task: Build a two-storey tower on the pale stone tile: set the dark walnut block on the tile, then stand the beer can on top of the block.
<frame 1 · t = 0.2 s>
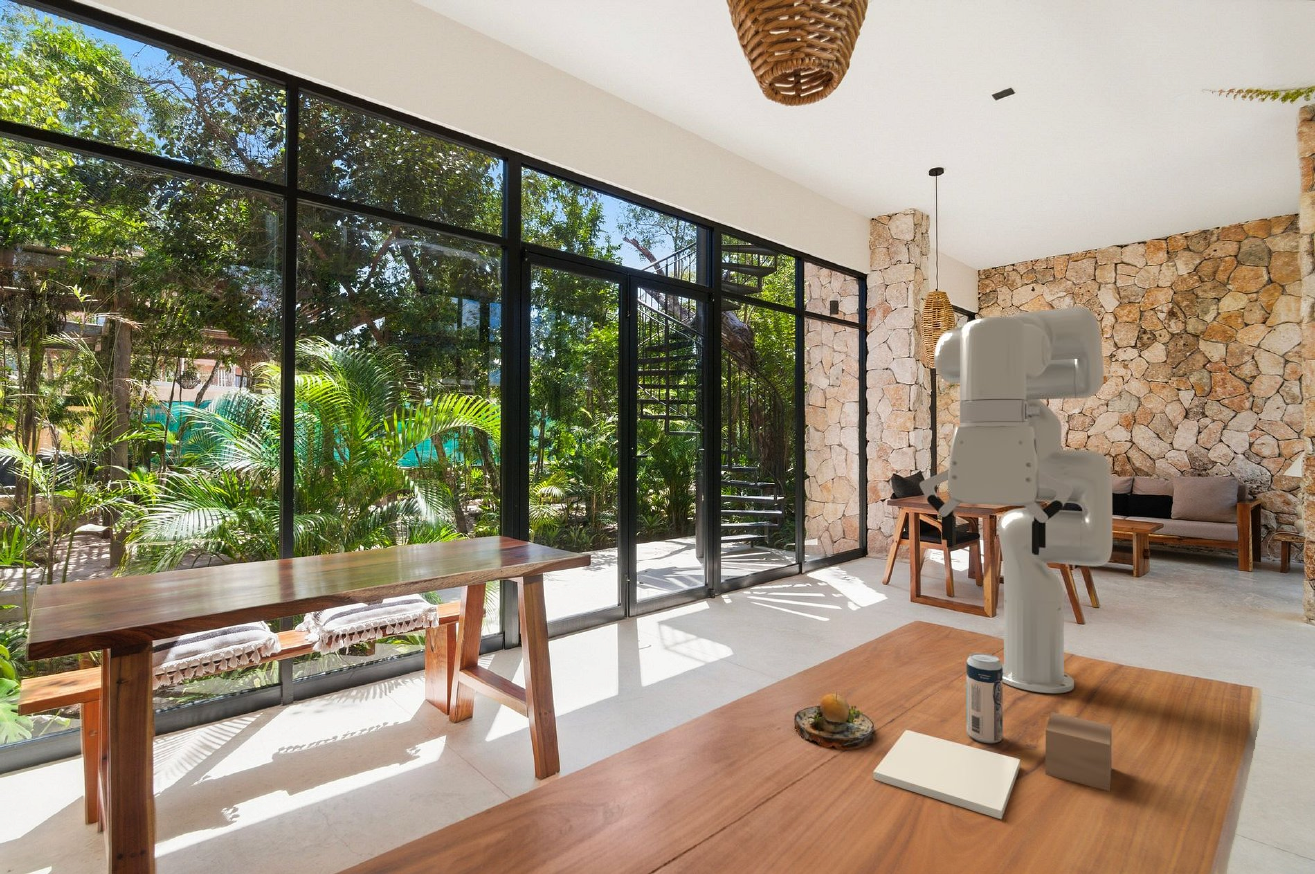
hand: (992, 549, 83), 30 cm above the table, tool pointing down, fingers open, 9 cm apart
walnut block: (1078, 771, 87), on the table
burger: (833, 733, 99), on the table
beer can: (984, 739, 96), on the table
stone tile: (948, 772, 86), on the table
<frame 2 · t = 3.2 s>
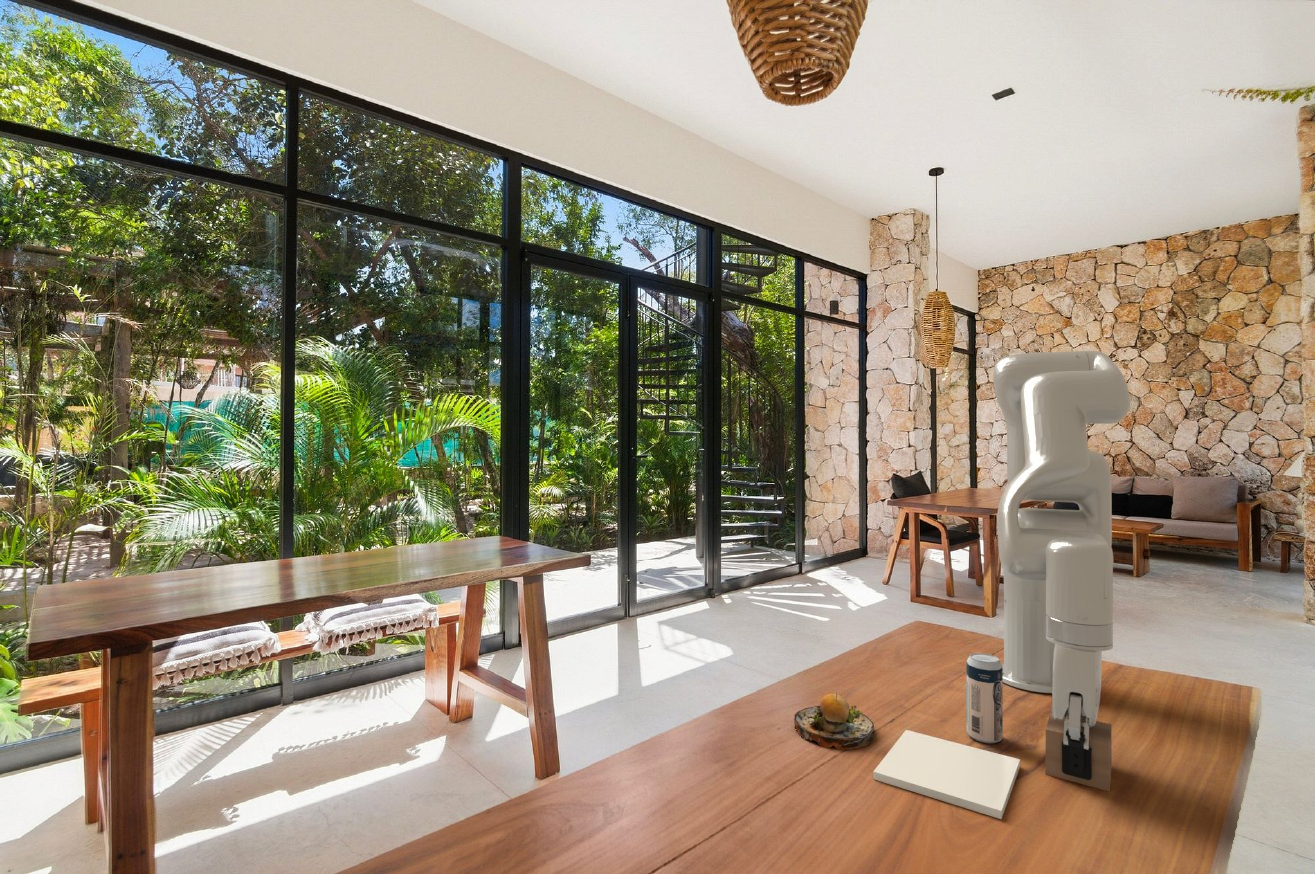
hand: (1078, 762, 87), 1 cm above the table, tool pointing down, fingers closed on walnut block, 7 cm apart
walnut block: (1078, 771, 87), on the table, touching gripper
everything else where it was.
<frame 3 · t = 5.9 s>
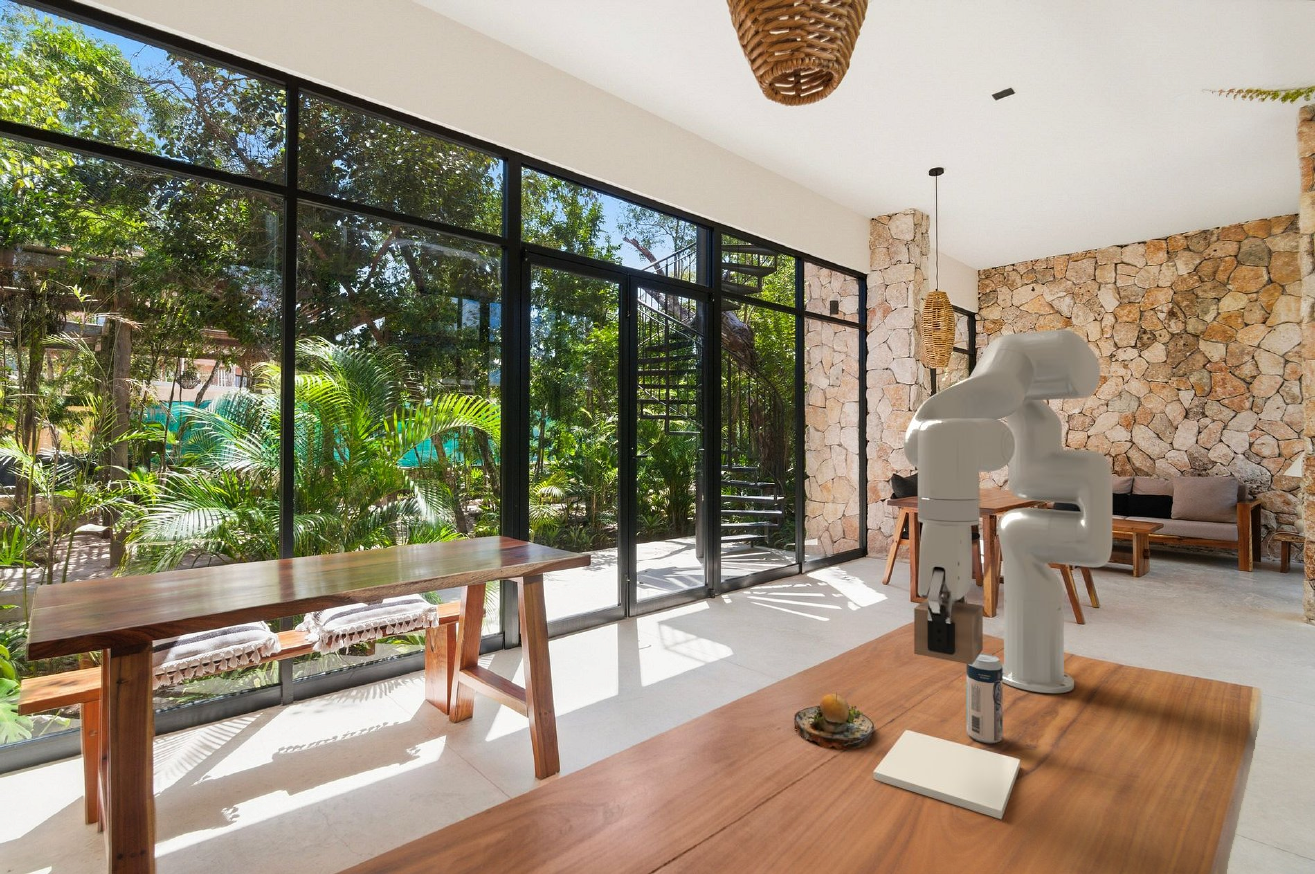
hand: (948, 643, 86), 17 cm above the table, tool pointing down, fingers closed on walnut block, 7 cm apart
walnut block: (948, 651, 86), point 16 cm above the table, touching gripper
everything else where it was.
when the fingers open (3 cm above the table, at t = 9.1 s): walnut block stays where it is, resting on stone tile.
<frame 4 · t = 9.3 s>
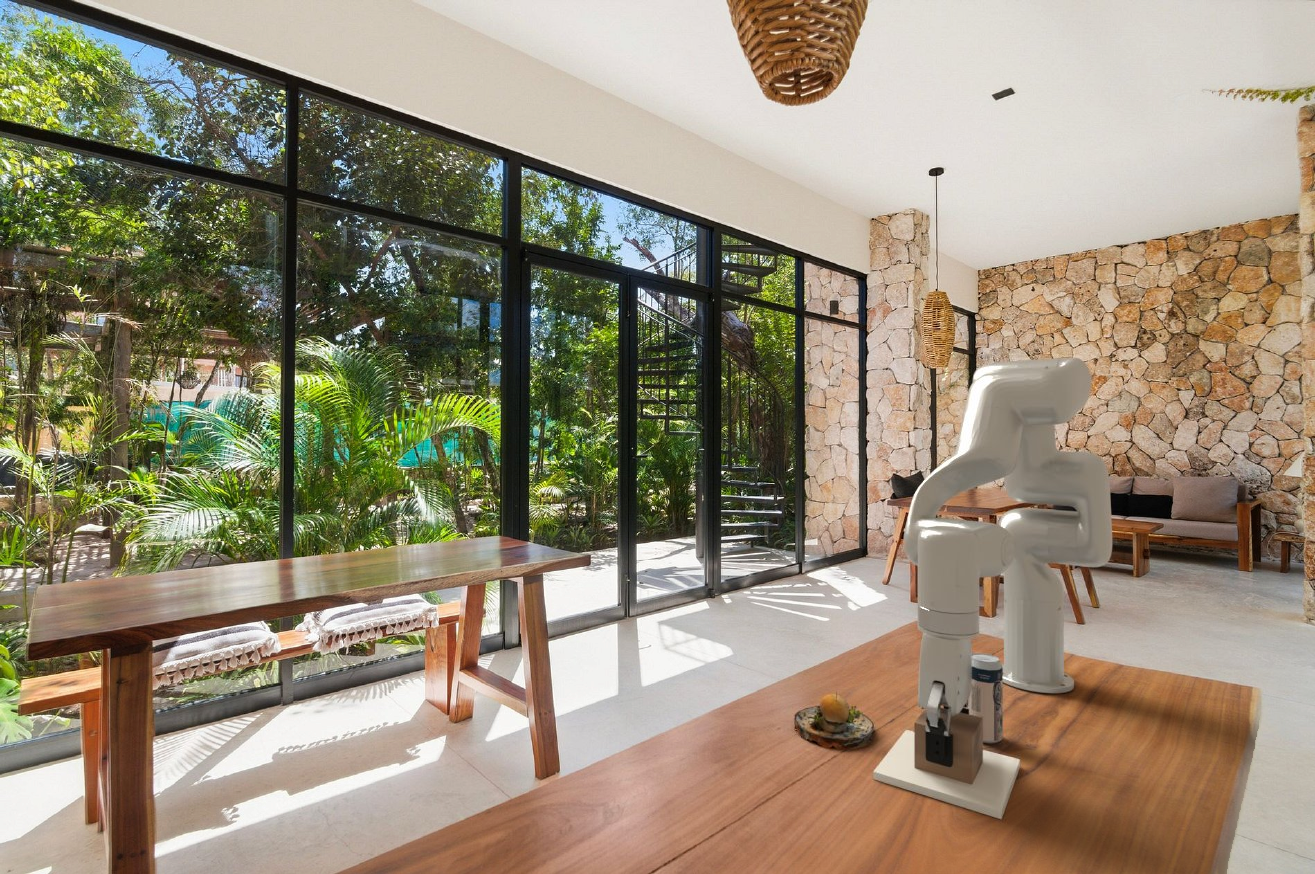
hand: (948, 748, 86), 3 cm above the table, tool pointing down, fingers open, 9 cm apart
walnut block: (948, 765, 86), point 1 cm above the table, touching stone tile
everything else where it was.
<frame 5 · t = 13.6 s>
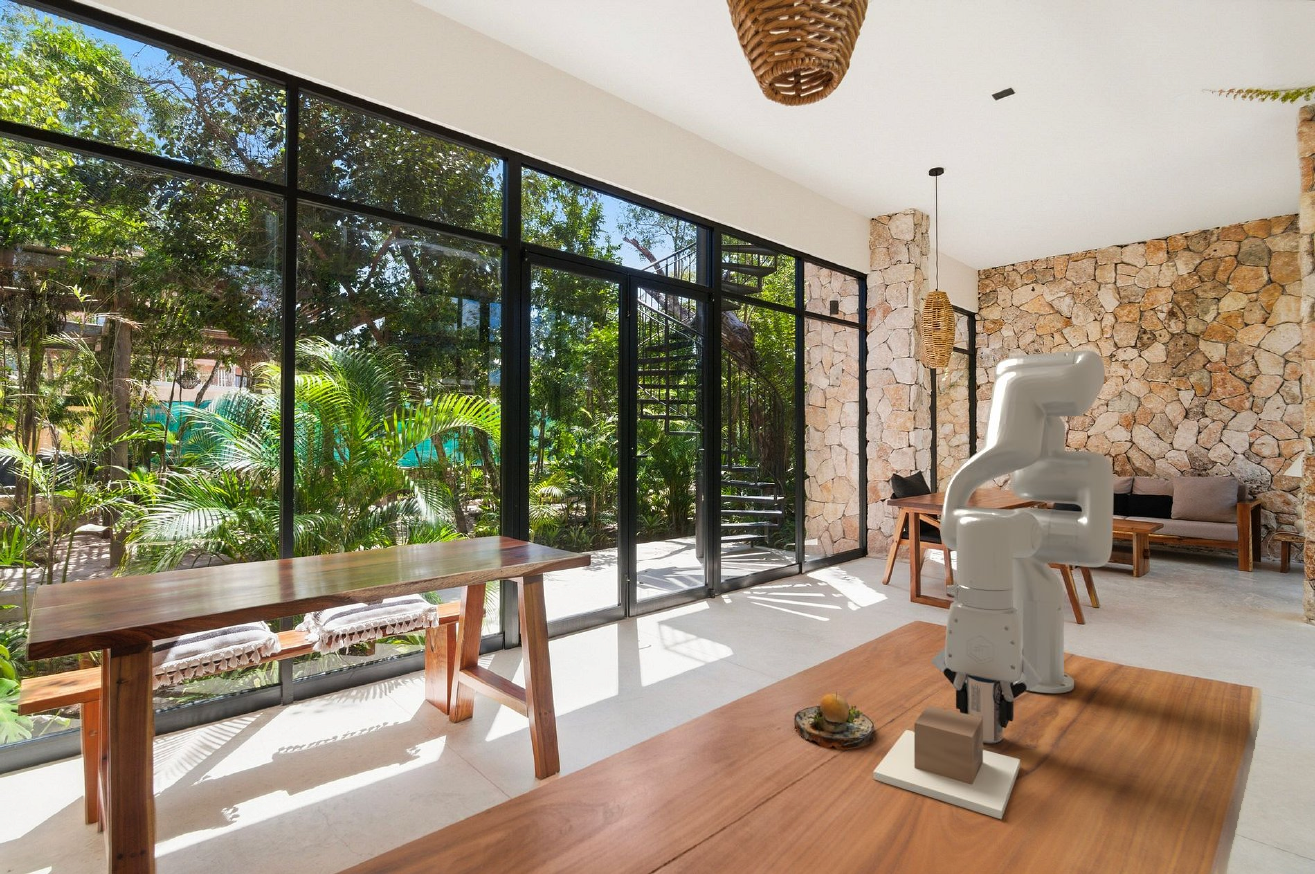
hand: (984, 718, 96), 3 cm above the table, tool pointing down, fingers closed on beer can, 4 cm apart
beer can: (984, 739, 96), on the table, touching gripper
everything else where it was.
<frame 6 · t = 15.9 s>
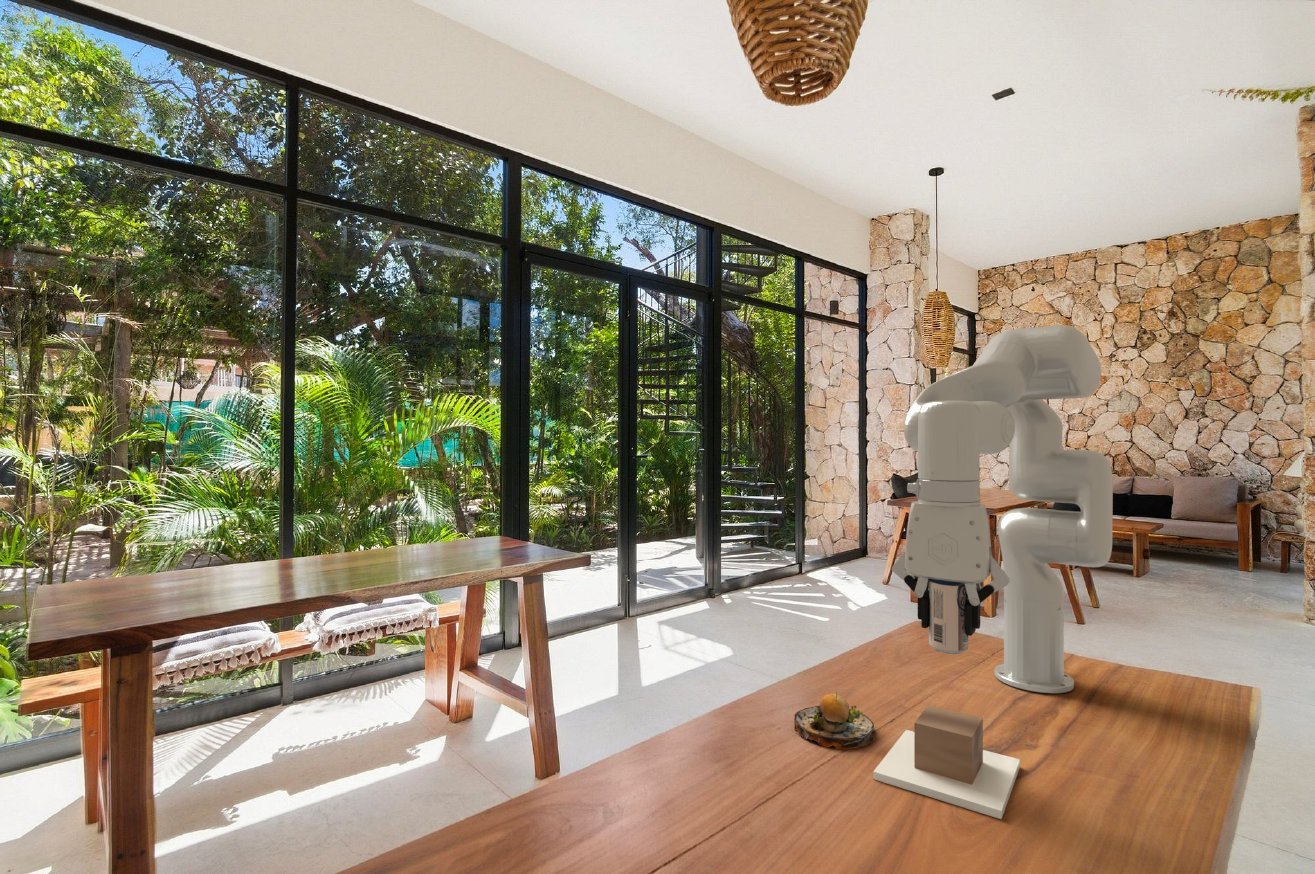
hand: (948, 627, 86), 19 cm above the table, tool pointing down, fingers closed on beer can, 4 cm apart
beer can: (948, 651, 86), point 16 cm above the table, touching gripper
everything else where it was.
when the fingers open (11 cm above the table, at t = 18.2 s): beer can stays where it is, resting on walnut block.
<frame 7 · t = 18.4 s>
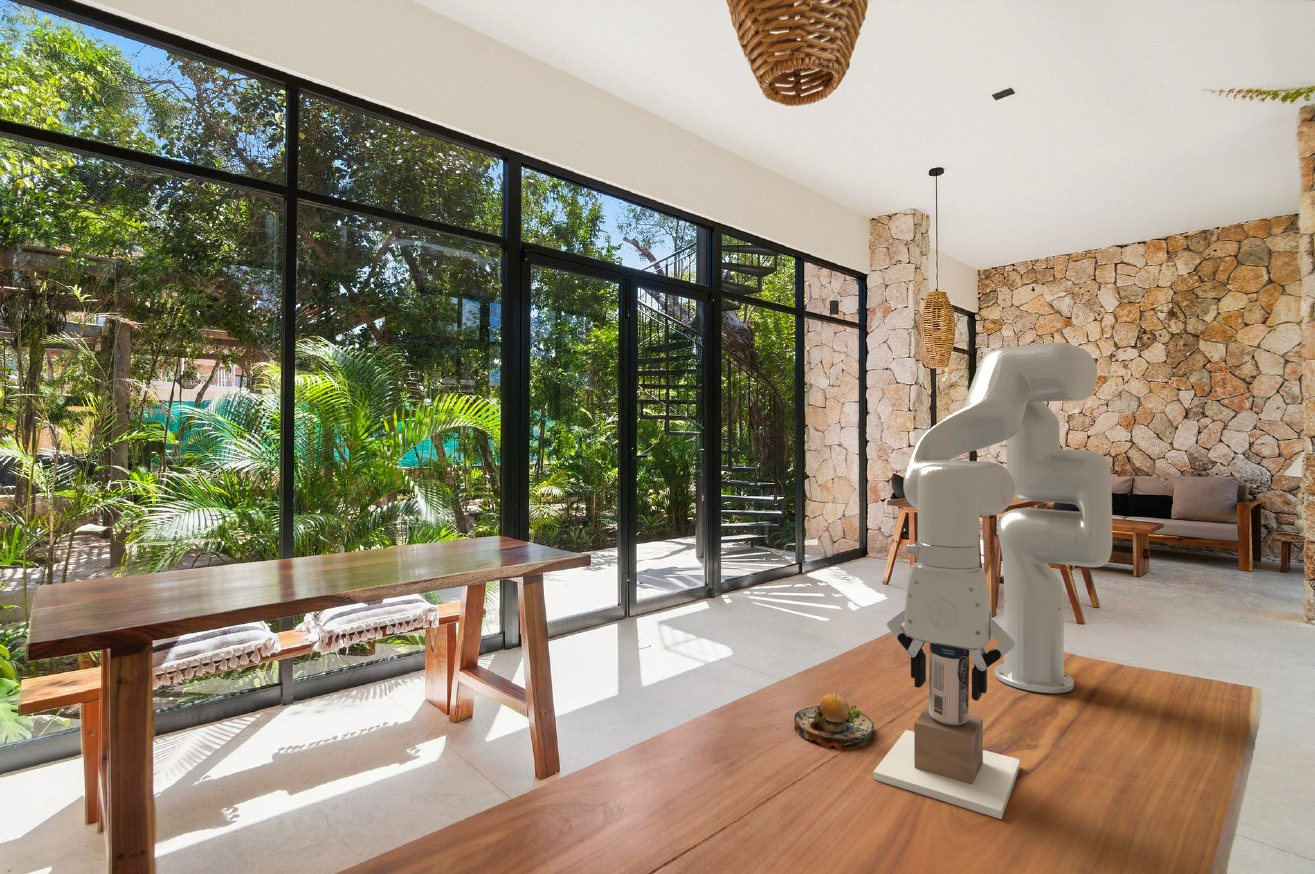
hand: (948, 689, 86), 11 cm above the table, tool pointing down, fingers open, 6 cm apart
walnut block: (948, 765, 86), point 1 cm above the table, touching beer can, stone tile
beer can: (948, 721, 86), point 7 cm above the table, touching walnut block
everything else where it was.
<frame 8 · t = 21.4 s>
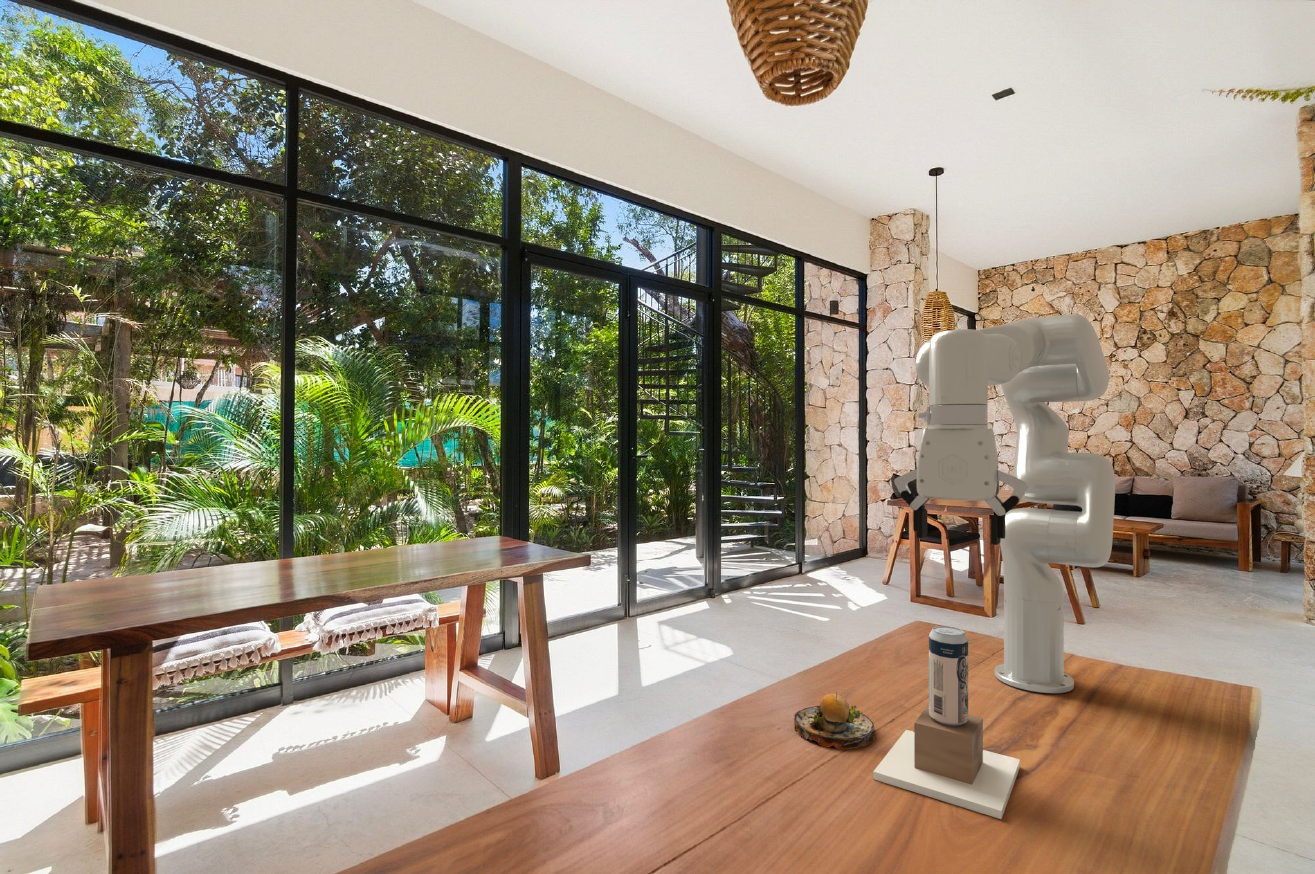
hand: (957, 540, 91), 30 cm above the table, tool pointing down, fingers open, 9 cm apart
nothing on the table moved.
at the end: walnut block inside the target area on the stone tile (0.2 cm from its centre), point 1.0 cm above the stone tile's base; beer can 0.1 cm from the walnut block (horizontally); beer can point 6.8 cm above the table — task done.
